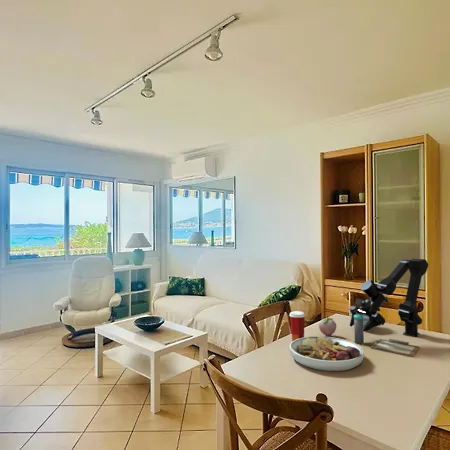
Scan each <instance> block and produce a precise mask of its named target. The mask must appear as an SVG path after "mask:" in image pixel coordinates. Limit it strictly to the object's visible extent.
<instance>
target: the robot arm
mask: <svg viewBox="0 0 450 450" xmlns="http://www.w3.org/2000/svg"><path fill="white" fill-rule="evenodd" d="M428 268H429V263H428V261H427V260H426V259H425V258H424V259H422V258H411V259H406V258H405V259H401V260H400V261H399V263H398V264H397V266H395V267H394V269H393V270H392V272H390V273H389V275H388V276H387V277H386V278H383V279H381V280H380V281H379V282H378V283H376V284H375V282H374V281H373V280H372V279H368V280H367V281H364V282H363V283H361V285H360V286H359V287H360V289H361V290H362V292H363V293H364V294H365V295H366V297H368V298H369V299H365V300H364V299H360V298H356V299H355V302H354V305H350V306H349V307H348V308H349V309H348V310H349V311H350V313H351V314H352V317H351V316H350V317H351V318H350V321H349V327H351V328H352V327H354V315H363V316H366V317H369V321H368V323H367V324H366V326H365V327H364V329H363V333H366V332H367V331H371V330H372V329H374V328H377V327H381V326H384V325H385V324H386V319H385V317H384V316H383V315H382V314H381V313H379V312H380V311H381V307H382V305H383V303H387V304H388V303H389V300H388V296H392V295H393V294H394V292H395V291H396V289H397V284H398V282H399V281H400V280H401V279H402V278H403V276H405V274H406V273H407V272H408V271H409V273H410V276H409V282H408V285H407V290H406V295H405V300H404V301H403V303H399V304H398V309H397V311H398V312H397V314H398V316H399V320H400V321H401V322H404V331H403V333H402V335H405V336H410V337H416V338H417V337H419V336H420V335H421V333H420V332H419V330H418V329H419V327H418V326H419V325H421V324H423V319H422V317H421V316H420V315H419V309H418V306H417V300H418V296H419V290H420V286H421V282H422V277H423V276H424V275H425V274H426V273H427V271H428ZM385 295H386V296H385ZM370 329H371V330H370Z"/></svg>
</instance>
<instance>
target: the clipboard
mask: <svg viewBox="0 0 450 450" xmlns="http://www.w3.org/2000/svg"><path fill="white" fill-rule="evenodd" d="M420 348H421V347H420V346H419V345H413V344H410V342H409V341H403V340H398V339H395V338H393V339H392V338H389V339H388V340H387V339H382V338H380V339H378V340H377V341H375V342H374V344H372V345H371V346H370V349H372V350H373V349H374V350H377V351H381V352H387V353H390V354H391V353H393V354H395V355H396V354H397V355H402V356H406V357H411V358H413V357H414V356H415V354H416V353H417V352H418V351H419V349H420Z"/></svg>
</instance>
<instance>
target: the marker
mask: <svg viewBox="0 0 450 450" xmlns="http://www.w3.org/2000/svg"><path fill="white" fill-rule="evenodd" d="M353 327H354V343H355V344H357V345H364V344H365V340H364V339H365V338H364V334H365V332H364V331H363V315H354V325H353Z"/></svg>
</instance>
